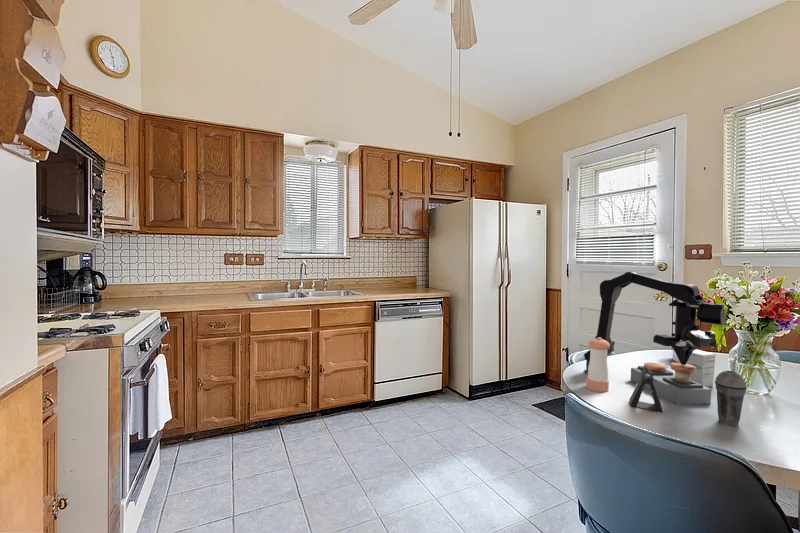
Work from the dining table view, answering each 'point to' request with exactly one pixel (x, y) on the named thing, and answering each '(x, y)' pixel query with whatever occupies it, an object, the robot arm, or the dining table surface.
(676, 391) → the socket block
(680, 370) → the pin right
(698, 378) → the supplement box
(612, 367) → the dining table surface
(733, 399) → the beverage cup
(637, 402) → the phone stand
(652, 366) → the pin left
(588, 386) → the salt shaker
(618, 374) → the dining table surface
